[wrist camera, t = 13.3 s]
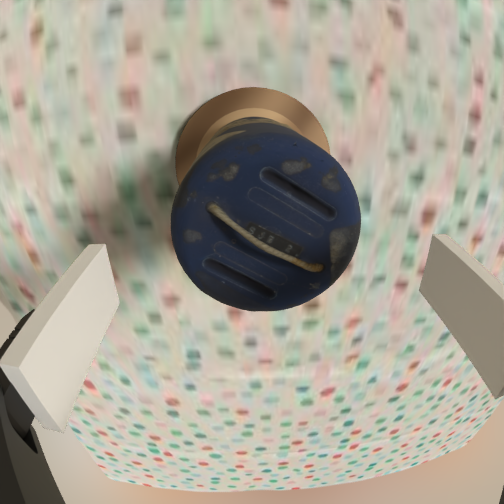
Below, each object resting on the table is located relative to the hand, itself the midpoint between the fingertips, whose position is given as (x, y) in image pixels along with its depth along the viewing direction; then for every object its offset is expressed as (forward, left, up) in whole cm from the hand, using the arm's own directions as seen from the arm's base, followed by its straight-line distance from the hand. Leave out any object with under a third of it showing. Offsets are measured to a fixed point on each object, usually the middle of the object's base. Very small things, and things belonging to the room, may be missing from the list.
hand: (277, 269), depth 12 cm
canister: (0, 0, -20) cm, 20 cm away
